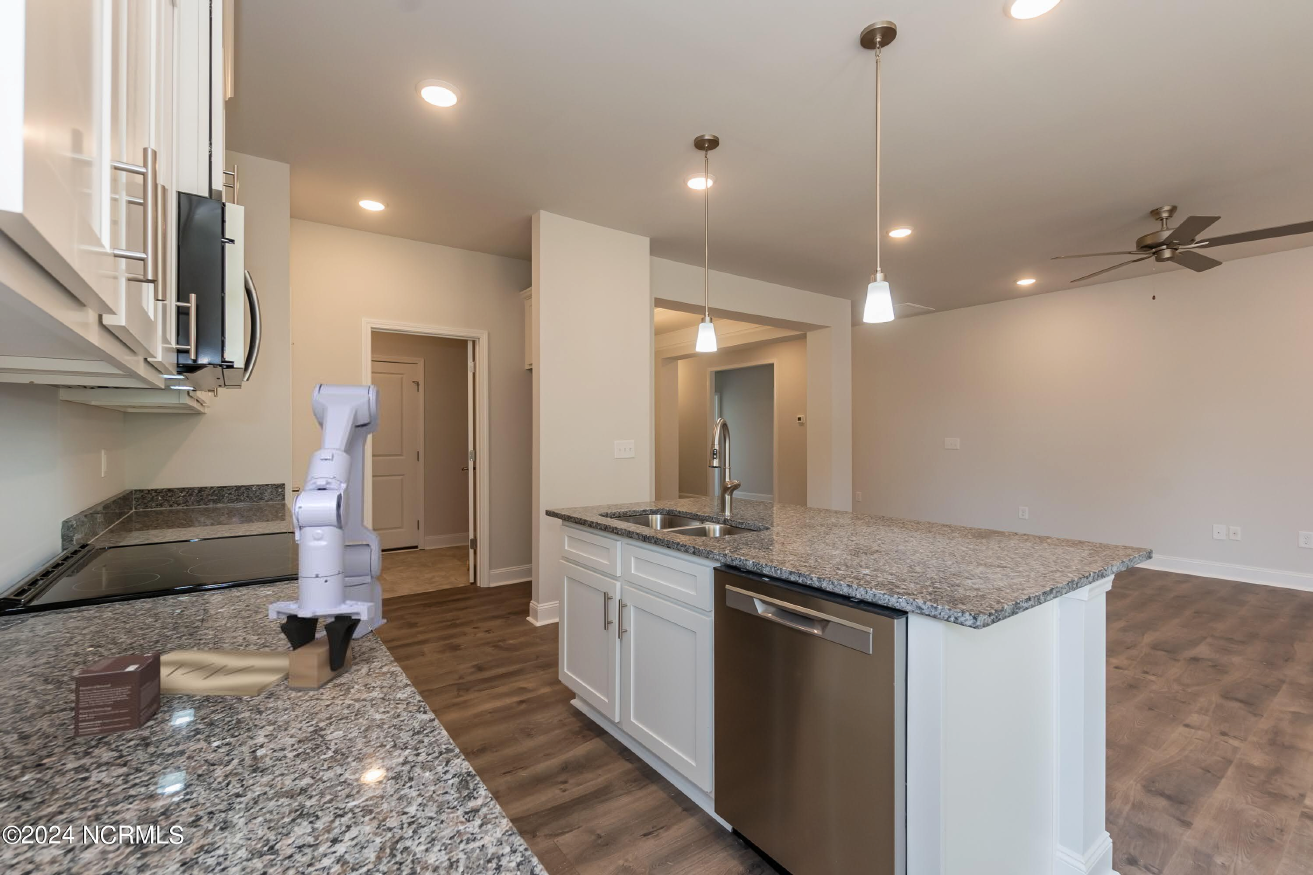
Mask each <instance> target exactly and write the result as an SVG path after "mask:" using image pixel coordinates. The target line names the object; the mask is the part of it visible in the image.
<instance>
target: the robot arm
mask: <svg viewBox="0 0 1313 875" xmlns="http://www.w3.org/2000/svg"><path fill="white" fill-rule="evenodd" d="M311 394H312V395H311V407H312V413H313V416H314V417H315V419H316V421H317V423H318V425H319V427H320V429H321V431H322V432H321V433H322V434H321V445H320V449H319V450H317V451H315V452H314V453H313V454H312V455H311V457H310V459H309V463H308V468H307V472H306V476H305V479H304V480H305V481H304V484H303V489H302V492H301V493H300V494H299V493H297V494H296V495H295V497H294V499H293V504H292V521H293V522H292V523H293V526H294V535H295V536H294V538H295V539H294V540H295V544H298V600H294V601H293V600H291V601H290V600H289V601H277V602H274V603H272V604H269V605H268V619H269V620H275V619H278V618H283V619H286V620H285V622H284V623H282V624H280V627H279V628H280V632H281V633H282V634H283V635H284V636H285V637H286V639H287V641H288V642H289V644H290V646H291V648H292V651H295V650H297V649H299V648H300V647H302V646H304V645H306V644H308V643H310V642H312V641H314V640H316V639H318V638H319V637H321V636H323V635H325V634H327V638H328V643H329V650H330V669H331V671H337V670H339V669H340V668H342V667H343V666H344V662H345V658H346V654H347V650H348V647H349V644H350V641H351V639H356V640H357V639H361V638H362V637H364V636H365V635H367V634H369V633H371V632H372V631H374V630H375V629H377V628H379V627H380V626H383V625H385V623H387V619H385V618H383V590H382V586H381V583H380V582H379V580H378V579H377V578H378V576H379V575H380V574H381V572H382V571H381V570H382V557H383V556H382V547H381V537H380V535H379V533H377V531H374V530H373V529H371V528H369V527H368V526H366V525H365V472H366V471H365V469H366V468H365V467H366V466H365V462H366V461H365V458H366V444H367V440H368V436H369V435H371V434H373V433H376V432H378V430H379V428H378V427H379V426H380V402H381V401H380V391H379V388H378V387H377V386H376V385H375V384H370V385H365V384H363V385H362V384H358V385H357V384H329V383H327V384H325V383H324V384H323V383H319V382H318V383H316V385H314V387H313V389H312V393H311ZM346 543H347V544H346ZM349 543H354V544H349ZM357 543H358V544H357ZM319 619H326V623H325V624H323V625H324V626H323V627H324V630H322V631H320V632H318V633H316V632H317V629H318V624H319ZM365 621H366V622H365ZM366 623H367V624H368V625H369V626H370V628H371V629H372V631H371V630H370V629H369V627H368V625H367V624H366Z"/></svg>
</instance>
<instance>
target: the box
mask: <svg viewBox="0 0 1313 875" xmlns="http://www.w3.org/2000/svg"><path fill="white" fill-rule="evenodd" d="M161 656H162V655H161V652H159V651H156V652H148V653H141V654H140V653H139V654H130V655H121V656H110V657H104V658H103V657H102V658H101V659H99V660H98V661H96V662H95V663H93V664H92V665H89V666H88V667H87V668H85V669H84V670H83V671H81V672H80V673H78V674H76V675H75V676H74V679H75V680H74V681H75V687H74V689H75V690H74V729H73V730H74V731H73V732H74V733H73V734H74V737H73V738H74V739H76V740H80V739H86V738H93V737H100V736H104V735H106V736H107V735H110V734H111V735H112V734H120V733H128V732H134V731H138V730H140V729H141V728H142V727H143V726H144V725H145V724H146V723H147V722H148V721H149V719H150V718H151V717H153V716H154V715H155V714H156V712H157V711H159V710H160V709H161V694H160V687H161V676H160V673H161V668H160V666H161V661H160V657H161Z"/></svg>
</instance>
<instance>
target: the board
mask: <svg viewBox="0 0 1313 875" xmlns="http://www.w3.org/2000/svg"><path fill="white" fill-rule="evenodd" d="M291 652H293V650H292V651H289V650H288V651H286V650H279V651H278V650H232V649H231V650H225V649H176V650H174V651H170V652H169V653H166V654H164V655H160V661H161V666H160V668H161V673H160V676H161V687H160V695H185V696H186V695H188V696H189V695H192V696H195V695H196V696H233V697H234V696H237V697H238V696H239V697H240V696H242V697H244V696H245V697H258V696H259V695H261V694H263V693H265V692H267V691H268V690H269V689H272V688H273V687H275V686H277V685H278V684H280V683H282V682H284V681H286V680H287V679H289V653H291ZM286 678H287V679H286Z"/></svg>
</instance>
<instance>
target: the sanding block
mask: <svg viewBox="0 0 1313 875" xmlns="http://www.w3.org/2000/svg"><path fill="white" fill-rule="evenodd" d="M352 639H353V638H352ZM352 639H351V641H350V644H349V647H348V650H347V654H346V658H345V662H344V666H343V667H342V668H340V669H339V670H337V671H331V669H330V650H329V643H328V638H327V634H325V635H323V636H321V637H319V638H315V640H314V641H312V642H310V643H308V644H306V645H304V646H302V647H300V648H299V649H297V650H295V651H293V650H292V651H293V652H291V653H289V678H288V690H289V691H302V692H307V691H308V692H309V691H310V692H313V691H314V692H318V691H320V690H321V689H322V688H324V687H325V686H327V685H328V684H330V683H331V682H333V681H335V680H336V679H337V678H338V677H340V676H342V675H343V674H345V673H347V672H348V671H349V670H351V669H352V663H353V662H352V649H353V648H352Z"/></svg>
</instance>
